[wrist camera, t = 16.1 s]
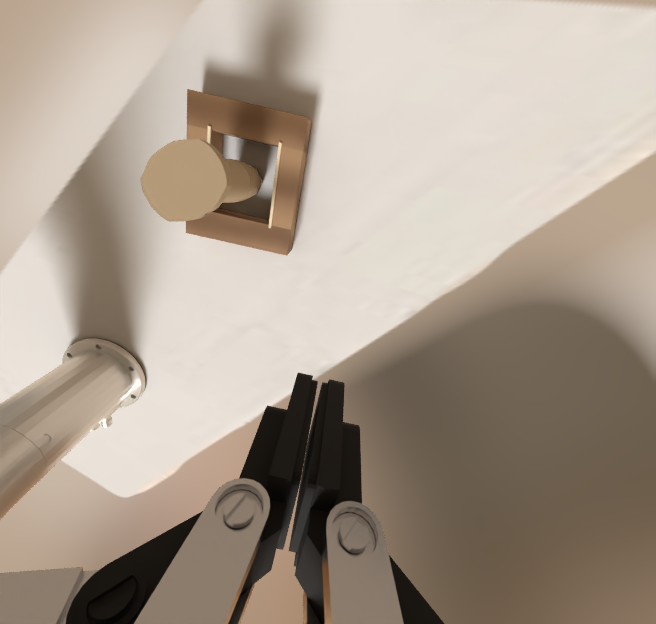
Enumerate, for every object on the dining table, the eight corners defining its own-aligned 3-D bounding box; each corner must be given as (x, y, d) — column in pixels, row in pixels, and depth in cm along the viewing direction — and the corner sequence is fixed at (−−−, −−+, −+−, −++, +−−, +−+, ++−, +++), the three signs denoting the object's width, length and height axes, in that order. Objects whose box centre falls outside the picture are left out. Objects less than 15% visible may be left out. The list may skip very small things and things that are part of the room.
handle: (215, 174, 35) (127, 172, 21) (261, 145, 33) (198, 122, 20) (238, 213, 37) (170, 234, 23) (283, 187, 35) (239, 192, 21)
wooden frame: (291, 249, 38) (286, 255, 35) (198, 228, 38) (185, 233, 35) (311, 122, 32) (307, 116, 29) (201, 96, 32) (186, 88, 29)
